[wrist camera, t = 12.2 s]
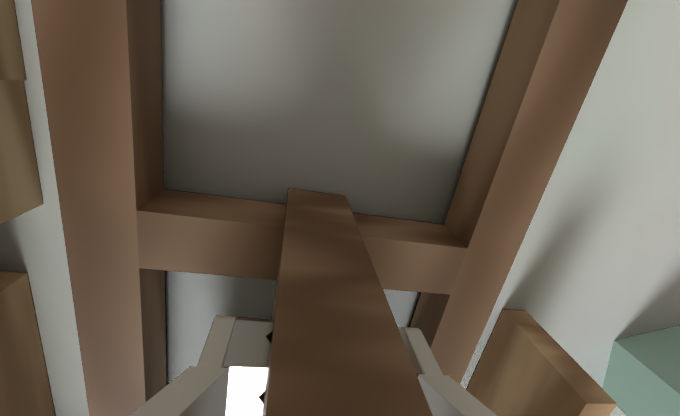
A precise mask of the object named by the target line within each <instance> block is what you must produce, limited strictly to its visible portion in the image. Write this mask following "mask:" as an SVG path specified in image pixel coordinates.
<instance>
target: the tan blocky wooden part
mask: <svg viewBox="0 0 680 416" xmlns="http://www.w3.org/2000/svg"><path fill="white" fill-rule="evenodd" d="M23 80H26V75H25V68H24V62H23V56H22V49H21V43H20V36H19V30H18V24H17V17H16V11H15V5H14V0H0V224H2V223H4V222H6V221H9V220H11V219H13V218H15V217H17V216H19V215H21V214H23V213H25V212H27V211H29V210H31V209H33V208H35V207H38V206H40V205H42V204H43V199H42V193H41V187H40V181H39V174H38V168H37V162H36V156H35V149H34V143H33V137H32V131H31V125H30V118H29V112H28V106H27V100H26V93H25V87H24V81H23Z"/></svg>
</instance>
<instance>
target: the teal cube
mask: <svg viewBox="0 0 680 416" xmlns="http://www.w3.org/2000/svg"><path fill="white" fill-rule="evenodd" d="M602 389H603V390H604V391H605V392H606V393H607V394H608V395H609V396H610V397H611V398H612V399H613V400H614V401H615V402H616V403H617V406H618V407H619V408H620V409H621V410H622V411H623V412H624V413H625V414H626V416H680V325H679V326H674V327H670V328H666V329H661V330H657V331H653V332H649V333H644V334H640V335H636V336H631V337H627V338H623V339H618V340H614V343H613V347H612V351H611V355H610V359H609V364H608V368H607V372H606V376H605V380H604V384H603V388H602Z"/></svg>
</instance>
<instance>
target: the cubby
mask: <svg viewBox="0 0 680 416" xmlns="http://www.w3.org/2000/svg"><path fill="white" fill-rule="evenodd" d="M466 391H468V392H469V393H470V394H471V395H473V396H474V397H475V398H476V399H477V400H479V401H480V402H481V403H482V404H483V405H485V406H486V407H487V408H488V409H489V410H491V411H492V412H493V413H494V414H496V415H497V416H609V415H610V414H611V412H612V411H613V410H614V408H615V407H616V405H617V403H616V402H615V401H614V400H613V399H612V398H611V397H610V396H609V395H608V394H607V393H606V392H605V391H604V390H603V389H602V388H601V387H600V386H599V385H598V384H597V383H596V382H595V381H594V380H593V379H592V378H591V377H590V376H589V375H588V374H587V373H586V372H585V371H584V370H583V369H582V368H581V367H580V366H579V365H578V363H577V362H576V361H575V360H574V359H573V358H572V357H571V356H570V355H569V354H568V353H567V352H566V351H565V350H564V349H563V348H562V347H561V346H560V345H559V344H558V343H557V342H556V341H555V340H554V339H553V338H552V337H551V336H550V335H549V334H548V333H547V332H546V331H545V330H544V329H543V328H542V327H541V326H540V325H539V324H538V323H537V322H536V321H535V320H534V319H533V318H532V317H531V316H530V315H529V314H528V313H527V312H526V311H521V310H507V309H502V312H501V314H500V316H499V318H498V320H497V323H496V325H495V327H494V329H493V332H492V334H491V336H490V338H489V340H488V343H487V345H486V347H485V349H484V351H483V354H482V356H481V358H480V360H479V363H478V365H477V367H476V369H475V371H474V374H473V376H472V378H471V380H470V383H469V385H468V387H467V389H466ZM0 416H55V412H54V406H53V401H52V396H51V391H50V386H49V381H48V376H47V371H46V366H45V361H44V356H43V351H42V346H41V341H40V336H39V331H38V326H37V321H36V316H35V310H34V305H33V300H32V295H31V290H30V285H29V280H28V275H27V273H19V272H5V271H0Z"/></svg>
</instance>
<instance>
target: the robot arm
mask: <svg viewBox="0 0 680 416" xmlns="http://www.w3.org/2000/svg"><path fill="white" fill-rule="evenodd" d="M273 323H274V320H269V319H257V318H246V317H230V316H218V315H217V316H216V317H215V319H214V321H213V323H212V326H211V329H210V332H209V334H208V337H207V340H206V343H205V345H204V348H203V351H202V354H201V357H200V359H199V362H198V365H197V367H191V366H190V367H189V368H188V369H187V370H185V371H184V372H183V373H182V374H180V375H179V376H178V377H177V378H175V379H174V380H173V381H172V382H170V383H169V384H168V385H167V386H165V387H164V388H163V389H162V390H161V391H159V392H158V393H157V394H156V395H154V396H153V397H152V398H151V399H149V400H148V401H147V402H146V403H144V404H143V405H142V406H141V407H139V408H138V409H137V410H136V411H134V412H133V413H132V414H131V415H130V416H262V412H263V405H264V396H265V390H266V384H267V376H268V369H269V360H270V351H271V339H272V332H273ZM398 329H399V332H400V334H401V337H402V339H403V342H404V344H405V347H406V349H407V352H408V354H409V357H410V360H411V362H412V365H413V367H414V370H415V372H416V375H417V377H418V380H419V382H420V385H421V387H422V390H423V392H424V395H425V397H426V400H427V402H428V405H429V407H430V410H431V412H432V415H433V416H497V415H496V414H494V413H493V412H492V411H491V410H489V409H488V408H487V407H486V406H485V405H483V404H482V403H481V402H480V401H479V400H477V399H476V398H475V397H474V396H473V395H471V394H470V393H469V392H468V391H466V390H465V389H464V388H463V387H462V386H460V385H459V384H458V383H457V382H456V381H454V380H453V379H452V378H451V377H450V376H448V375H443V374H442V372H441V370H440V368H439V366H438V364H437V362H436V360H435V358H434V356H433V354H432V352H431V350H430V348H429V346H428V344H427V342H426V340H425V338H424V336H423V334H422V332H421V330H420V329H419V328H406V327H402V328H399V327H398Z"/></svg>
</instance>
